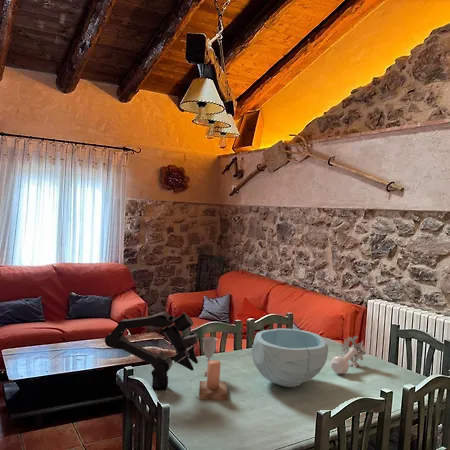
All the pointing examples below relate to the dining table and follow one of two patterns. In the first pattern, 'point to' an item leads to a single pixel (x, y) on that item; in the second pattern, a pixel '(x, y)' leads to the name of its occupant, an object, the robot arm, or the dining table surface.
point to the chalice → (208, 349)
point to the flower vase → (348, 356)
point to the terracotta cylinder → (213, 374)
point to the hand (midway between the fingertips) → (195, 366)
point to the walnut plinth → (213, 391)
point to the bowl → (289, 355)
